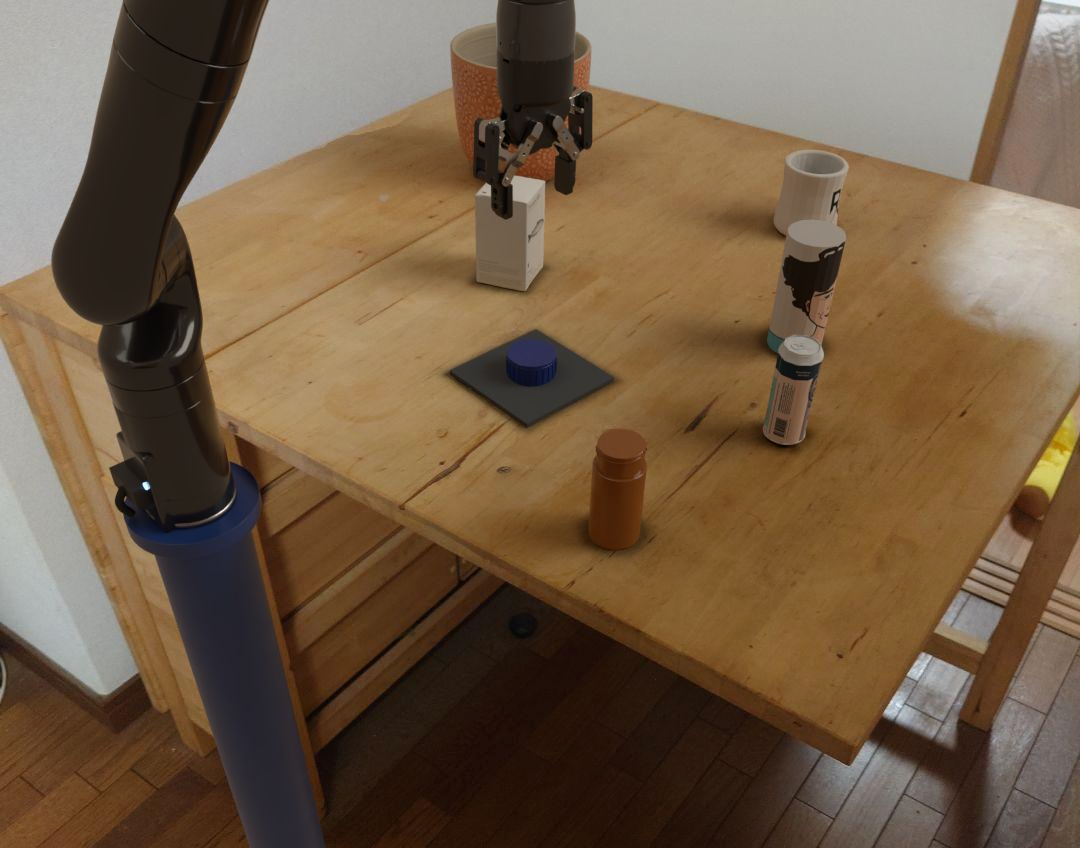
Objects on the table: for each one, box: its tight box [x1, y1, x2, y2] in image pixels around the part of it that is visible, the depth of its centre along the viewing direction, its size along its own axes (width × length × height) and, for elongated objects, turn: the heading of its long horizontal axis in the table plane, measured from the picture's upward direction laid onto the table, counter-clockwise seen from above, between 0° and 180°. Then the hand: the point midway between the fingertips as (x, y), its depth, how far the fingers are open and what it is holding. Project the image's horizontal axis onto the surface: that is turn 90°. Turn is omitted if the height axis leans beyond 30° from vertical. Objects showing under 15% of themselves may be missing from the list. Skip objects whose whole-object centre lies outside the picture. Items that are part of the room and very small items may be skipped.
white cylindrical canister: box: [766, 220, 847, 354], centre depth 129 cm, size 7×7×15 cm
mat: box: [449, 328, 615, 428], centre depth 128 cm, size 14×14×1 cm
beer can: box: [762, 335, 825, 446], centre depth 116 cm, size 5×5×12 cm
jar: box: [587, 428, 648, 551], centre depth 104 cm, size 5×5×12 cm
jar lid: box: [506, 339, 557, 386], centre depth 127 cm, size 6×6×3 cm
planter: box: [449, 22, 592, 182], centre depth 163 cm, size 21×21×19 cm
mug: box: [773, 149, 850, 237], centre depth 154 cm, size 12×9×10 cm
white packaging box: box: [474, 176, 546, 292], centre depth 141 cm, size 7×7×13 cm
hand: (533, 204), depth 113 cm, fingers open, 8 cm apart
